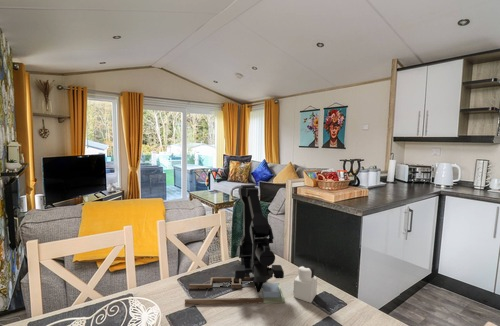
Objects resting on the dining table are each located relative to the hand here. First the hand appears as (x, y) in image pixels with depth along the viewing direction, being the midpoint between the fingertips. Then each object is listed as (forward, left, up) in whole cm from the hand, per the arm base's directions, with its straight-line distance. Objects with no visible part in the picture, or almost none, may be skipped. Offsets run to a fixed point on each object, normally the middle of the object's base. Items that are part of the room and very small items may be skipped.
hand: (258, 292), depth 102 cm
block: (+1, +5, -1) cm, 5 cm away
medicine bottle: (+1, +19, -1) cm, 19 cm away
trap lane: (-3, -9, -1) cm, 9 cm away
